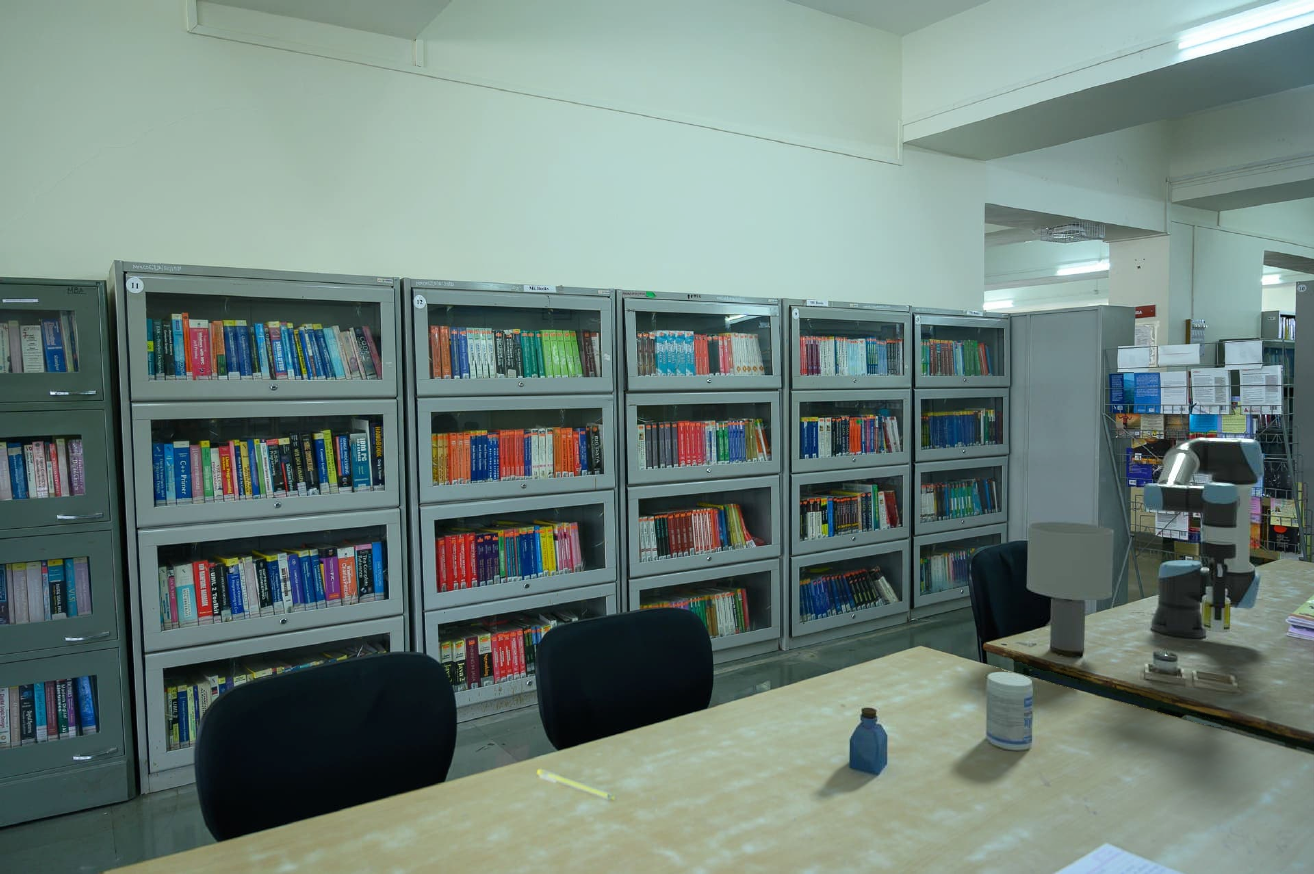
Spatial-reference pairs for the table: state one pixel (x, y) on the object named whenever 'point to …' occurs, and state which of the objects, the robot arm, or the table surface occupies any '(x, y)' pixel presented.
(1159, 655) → the small lidded jar
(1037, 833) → the table surface
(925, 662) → the table surface
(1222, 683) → the socket board
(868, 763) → the perfume bottle
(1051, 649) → the lamp
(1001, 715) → the supplement tub
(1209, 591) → the pill bottle
